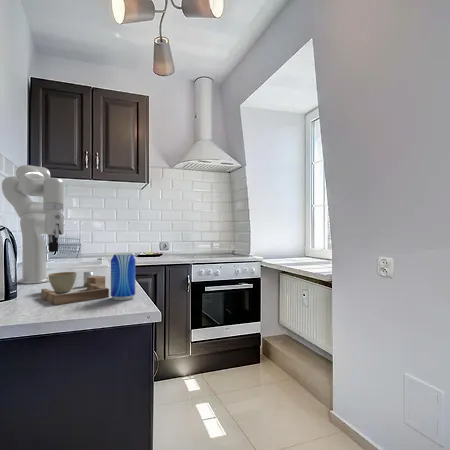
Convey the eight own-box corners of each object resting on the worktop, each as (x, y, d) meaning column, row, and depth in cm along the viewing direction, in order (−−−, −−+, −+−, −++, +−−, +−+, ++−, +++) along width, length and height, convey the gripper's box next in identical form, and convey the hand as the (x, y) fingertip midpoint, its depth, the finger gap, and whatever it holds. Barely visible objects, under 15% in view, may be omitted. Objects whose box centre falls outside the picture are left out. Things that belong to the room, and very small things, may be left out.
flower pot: (69, 288, 137) (69, 271, 137) (81, 291, 130) (81, 273, 130) (43, 292, 129) (43, 273, 129) (55, 295, 123) (55, 276, 123)
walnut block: (86, 289, 135) (86, 277, 135) (96, 287, 139) (96, 275, 139) (95, 290, 132) (95, 278, 132) (105, 288, 137) (105, 276, 137)
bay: (41, 297, 119) (41, 289, 119) (91, 290, 131) (91, 283, 132) (54, 305, 108) (54, 296, 108) (108, 296, 120) (108, 288, 120)
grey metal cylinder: (82, 286, 142) (82, 272, 142) (91, 285, 144) (91, 271, 144) (85, 287, 139) (85, 273, 139) (95, 286, 141) (95, 272, 141)
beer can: (110, 296, 121) (110, 252, 121) (134, 295, 124) (134, 252, 124) (111, 301, 113) (111, 254, 113) (136, 299, 116) (136, 254, 116)
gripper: (69, 207, 135) (68, 252, 135) (57, 208, 146) (57, 250, 146) (49, 206, 130) (48, 253, 130) (38, 208, 141) (38, 251, 141)
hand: (53, 251), depth 138 cm, fingers closed
